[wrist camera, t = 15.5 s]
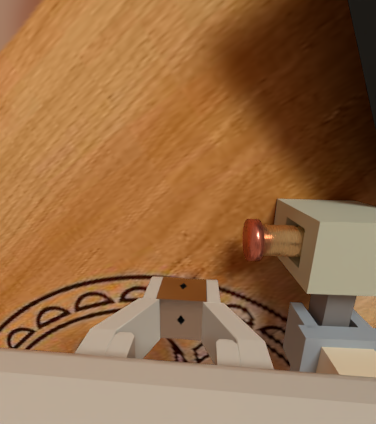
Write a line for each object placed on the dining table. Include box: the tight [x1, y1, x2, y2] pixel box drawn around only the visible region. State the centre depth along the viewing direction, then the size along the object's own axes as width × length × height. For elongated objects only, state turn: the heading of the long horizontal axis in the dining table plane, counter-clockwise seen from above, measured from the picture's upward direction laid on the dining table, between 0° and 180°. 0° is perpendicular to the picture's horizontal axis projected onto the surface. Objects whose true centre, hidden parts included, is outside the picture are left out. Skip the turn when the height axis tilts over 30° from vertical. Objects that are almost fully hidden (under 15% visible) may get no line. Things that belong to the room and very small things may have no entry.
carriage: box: [283, 302, 376, 377], centre depth 14 cm, size 6×5×11 cm
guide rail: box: [274, 199, 376, 327], centre depth 21 cm, size 8×38×7 cm, turn 179°
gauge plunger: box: [243, 219, 305, 261], centre depth 16 cm, size 10×3×3 cm, turn 89°
